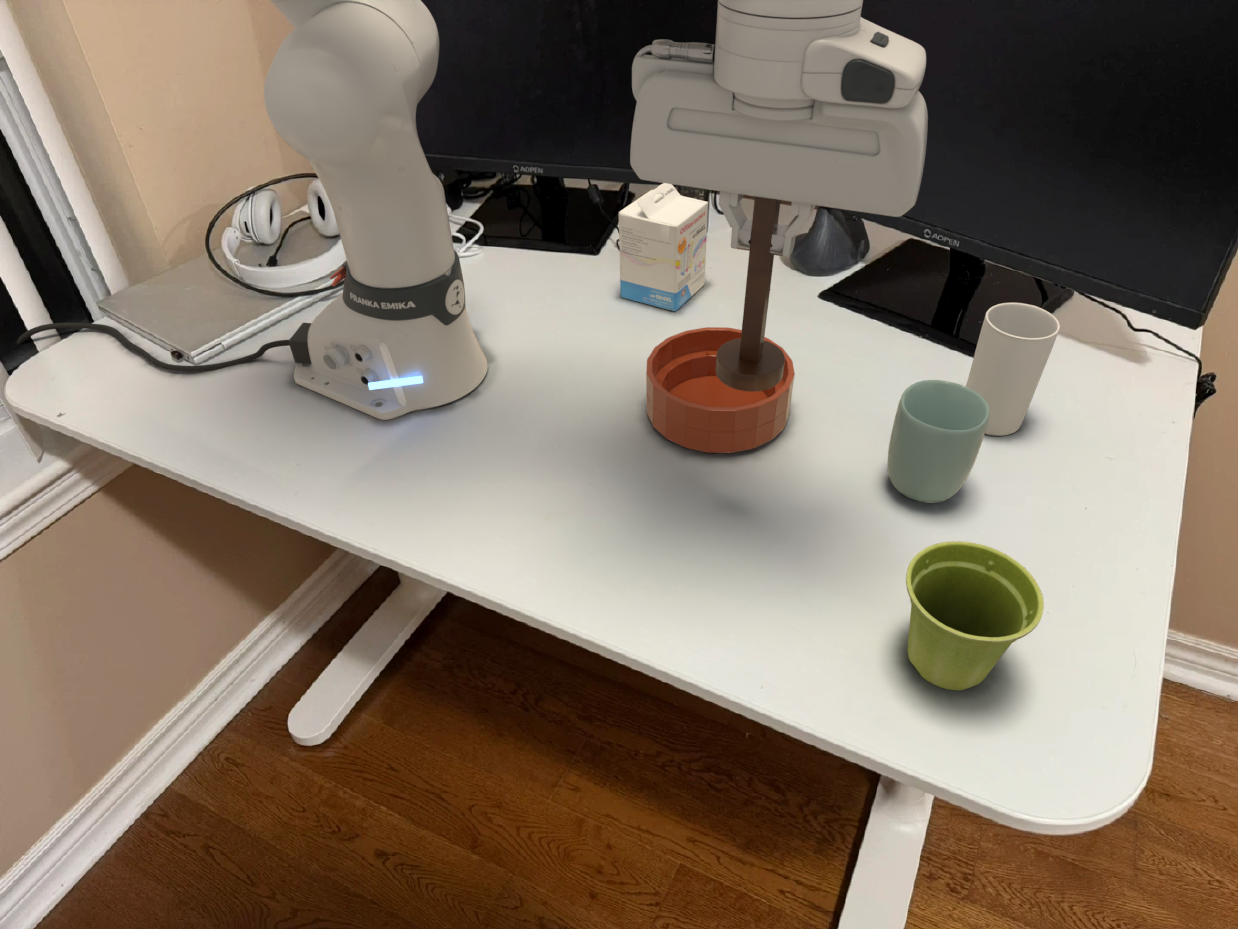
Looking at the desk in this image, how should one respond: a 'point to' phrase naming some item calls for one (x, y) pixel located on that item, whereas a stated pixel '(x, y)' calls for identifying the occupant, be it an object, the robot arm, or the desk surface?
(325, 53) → the robot arm
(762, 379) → the brown post stand
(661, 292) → the ink box
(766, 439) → the bowl
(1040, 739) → the desk surface
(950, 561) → the plant pot
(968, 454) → the cup
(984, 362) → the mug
